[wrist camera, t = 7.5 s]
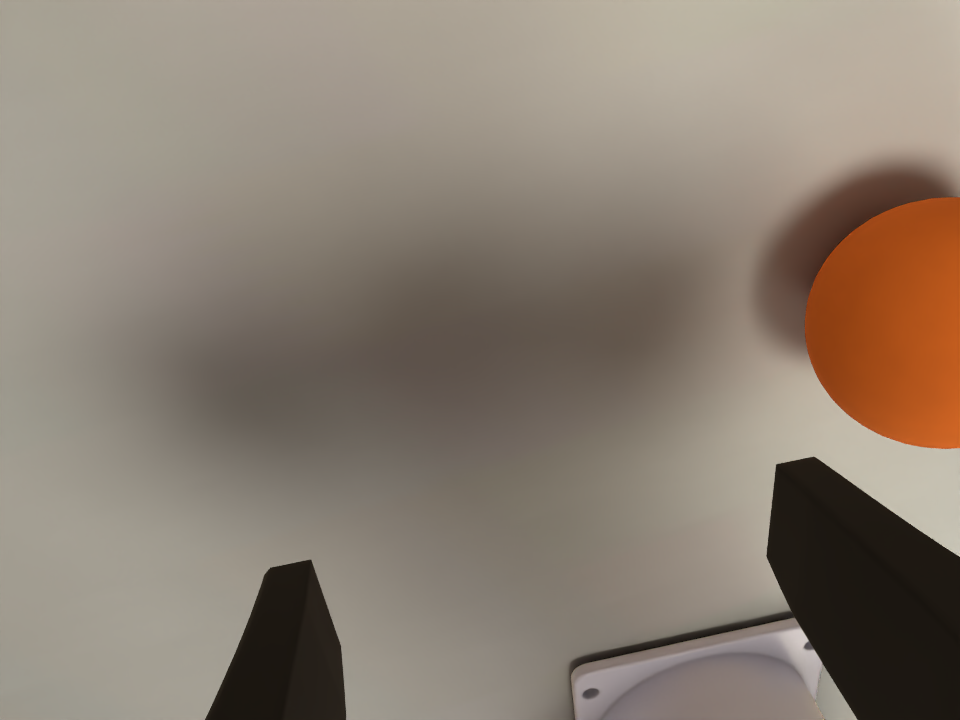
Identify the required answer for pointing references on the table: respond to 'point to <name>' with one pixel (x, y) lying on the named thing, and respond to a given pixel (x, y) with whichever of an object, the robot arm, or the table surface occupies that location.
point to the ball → (893, 323)
